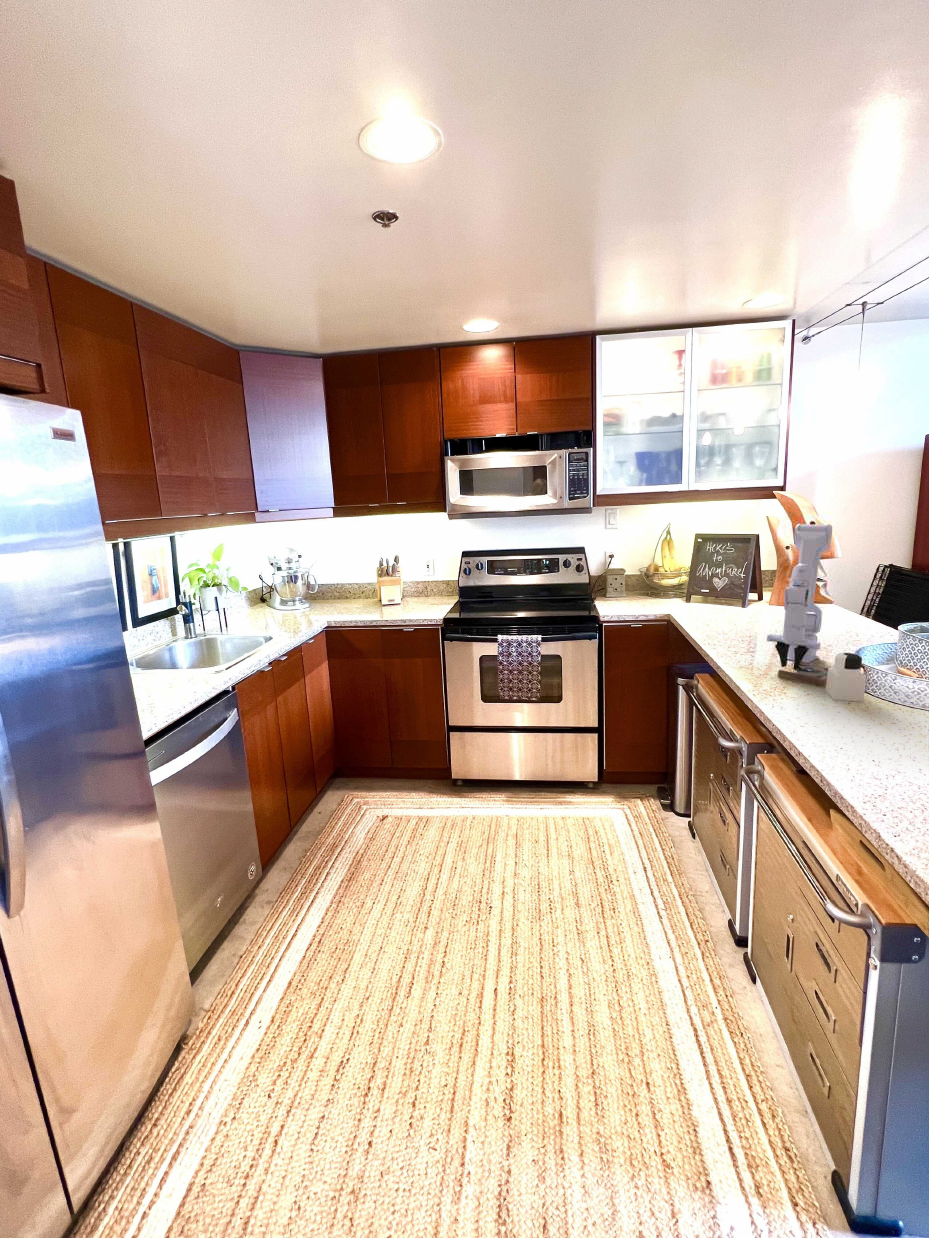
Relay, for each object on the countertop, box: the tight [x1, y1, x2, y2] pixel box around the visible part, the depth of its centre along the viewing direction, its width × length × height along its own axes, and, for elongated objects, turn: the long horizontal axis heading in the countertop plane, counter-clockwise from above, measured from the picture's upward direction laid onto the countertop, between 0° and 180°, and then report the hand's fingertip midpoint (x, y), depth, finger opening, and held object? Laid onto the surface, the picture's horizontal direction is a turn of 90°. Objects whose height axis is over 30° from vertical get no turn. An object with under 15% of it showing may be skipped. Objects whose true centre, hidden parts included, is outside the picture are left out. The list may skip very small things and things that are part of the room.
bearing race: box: [795, 666, 828, 678], centre depth 174 cm, size 8×8×2 cm
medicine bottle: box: [825, 652, 867, 702], centre depth 157 cm, size 7×7×12 cm
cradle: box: [777, 662, 829, 688], centre depth 174 cm, size 12×12×2 cm
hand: (790, 667), depth 178 cm, fingers open, 3 cm apart
